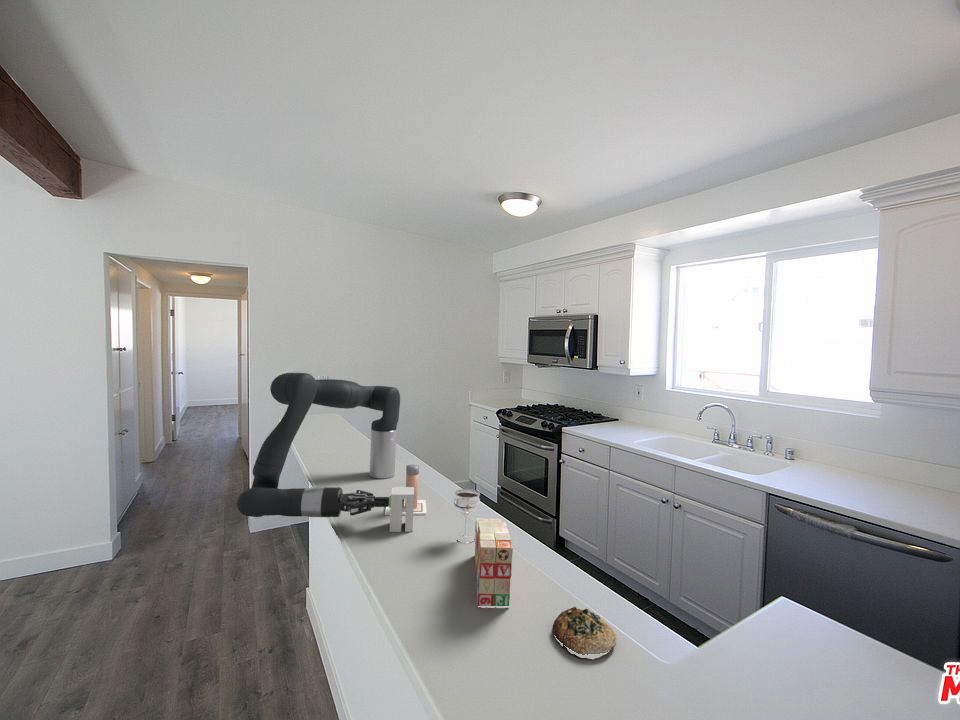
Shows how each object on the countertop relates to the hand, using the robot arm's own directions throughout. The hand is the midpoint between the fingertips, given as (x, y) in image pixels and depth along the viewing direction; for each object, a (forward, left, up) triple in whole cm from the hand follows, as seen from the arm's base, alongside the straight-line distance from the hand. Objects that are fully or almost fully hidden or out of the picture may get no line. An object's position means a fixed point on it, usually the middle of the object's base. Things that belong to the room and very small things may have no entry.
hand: (389, 501), depth 119 cm
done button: (0, +2, -1) cm, 2 cm away
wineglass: (+8, +20, -7) cm, 23 cm away
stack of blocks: (+28, +23, -7) cm, 37 cm away
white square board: (-14, +5, -7) cm, 16 cm away
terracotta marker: (-13, +6, -6) cm, 16 cm away
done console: (0, +4, -7) cm, 8 cm away
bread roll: (+48, +37, -7) cm, 61 cm away
